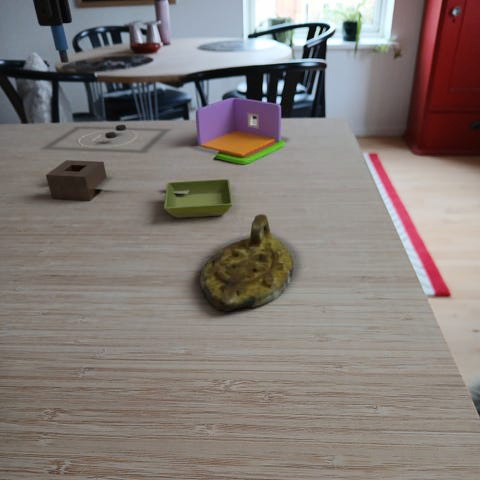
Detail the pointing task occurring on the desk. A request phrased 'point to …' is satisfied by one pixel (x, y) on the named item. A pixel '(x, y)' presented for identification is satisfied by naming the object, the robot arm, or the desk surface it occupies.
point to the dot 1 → (110, 135)
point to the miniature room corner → (240, 129)
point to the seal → (248, 270)
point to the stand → (76, 180)
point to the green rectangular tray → (198, 198)
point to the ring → (100, 135)
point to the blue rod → (60, 42)
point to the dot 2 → (120, 127)
